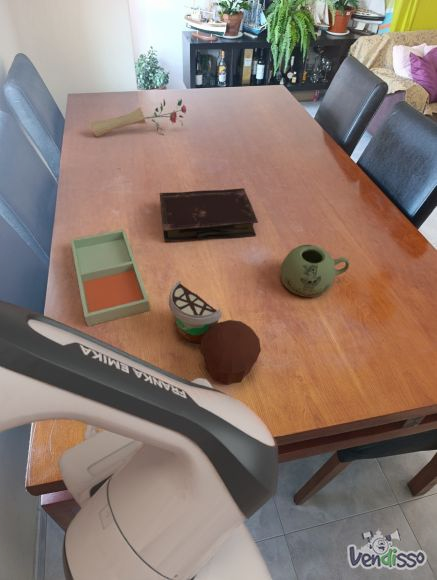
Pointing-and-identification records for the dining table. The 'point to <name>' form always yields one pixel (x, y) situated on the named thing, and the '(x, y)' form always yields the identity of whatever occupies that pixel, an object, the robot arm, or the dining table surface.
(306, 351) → the dining table surface
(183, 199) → the diary
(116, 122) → the flower vase
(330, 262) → the mug
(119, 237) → the organiser
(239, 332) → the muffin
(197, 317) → the food container
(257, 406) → the dining table surface
